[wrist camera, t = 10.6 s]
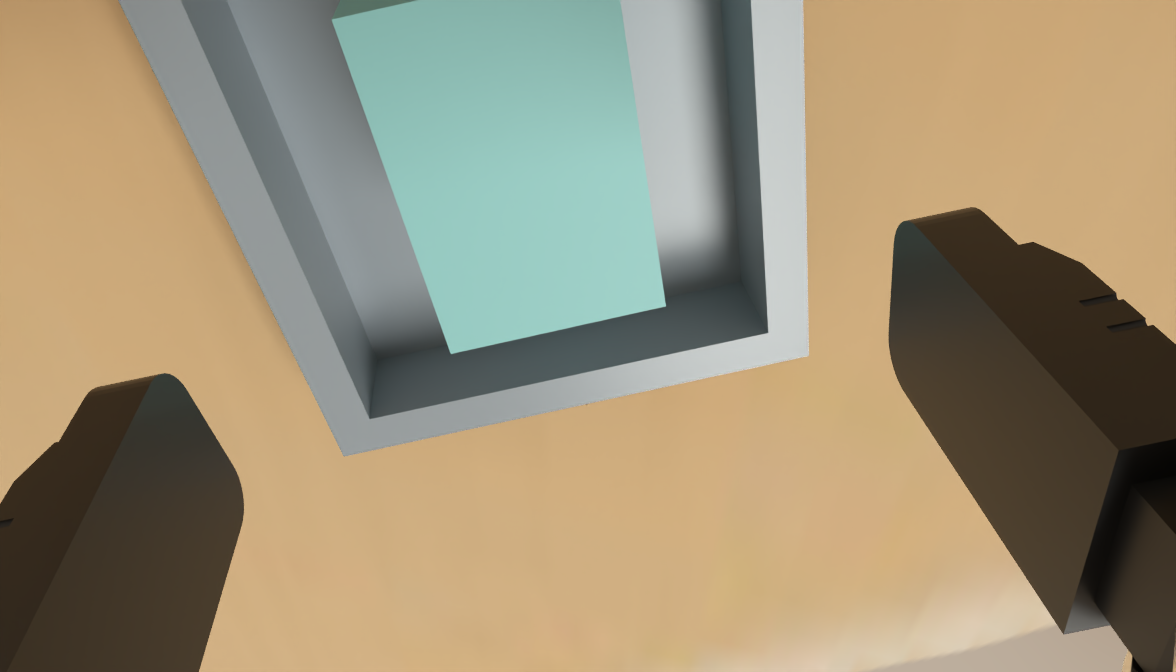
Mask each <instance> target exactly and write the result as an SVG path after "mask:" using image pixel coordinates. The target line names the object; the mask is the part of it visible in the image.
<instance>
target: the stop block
mask: <svg viewBox="0 0 1176 672" xmlns="http://www.w3.org/2000/svg"><path fill="white" fill-rule="evenodd" d="M332 22H333V25H334V28H335V31H336V34H337V36H338V39H339V42H340V45H341V48H342V50H343V53H344V56H345V59H346V62H347V64H348V67H349V70H350V73H351V76H352V78H353V81H354V84H355V87H356V90H357V92H358V95H359V98H360V101H361V104H362V106H363V109H364V112H365V115H366V118H367V120H368V123H369V126H370V129H371V132H372V135H373V137H374V140H375V143H376V146H377V149H378V151H379V154H380V157H381V160H382V163H383V165H384V168H385V171H386V174H387V177H388V179H389V182H390V185H391V188H392V191H393V193H394V196H395V199H396V202H397V205H398V207H399V210H400V213H401V216H402V219H403V221H404V224H405V227H406V230H407V233H408V235H409V238H410V241H411V244H412V247H413V249H414V252H415V255H416V258H417V261H418V263H419V266H420V269H421V272H422V275H423V278H424V280H425V283H426V286H427V289H428V292H429V294H430V297H431V300H432V303H433V306H434V308H435V311H436V314H437V317H438V320H439V322H440V325H441V328H442V331H443V334H444V336H445V339H446V342H447V345H448V348H449V350H450V353H451V354H453V353H458V352H462V351H467V350H471V349H476V348H480V347H485V346H490V345H494V344H499V343H503V342H508V341H512V340H517V339H521V338H526V337H530V336H535V335H539V334H544V333H548V332H553V331H557V330H562V329H566V328H571V327H575V326H580V325H584V324H589V323H593V322H598V321H602V320H607V319H611V318H616V317H620V316H625V315H629V314H634V313H638V312H643V311H647V310H652V309H656V308H661V307H665V306H666V303H665V296H664V289H663V283H662V276H661V269H660V263H659V256H658V249H657V243H656V236H655V229H654V223H653V216H652V209H651V203H650V196H649V189H648V183H647V176H646V169H645V163H644V156H643V149H642V143H641V136H640V129H639V123H638V116H637V109H636V103H635V96H634V89H633V83H632V76H631V69H630V63H629V56H628V49H627V43H626V36H625V29H624V23H623V16H622V9H621V3H620V0H340V2H339V4H338V6H337V9H336V11H335V13H334V15H333V17H332Z"/></svg>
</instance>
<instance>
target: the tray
mask: <svg viewBox="0 0 1176 672" xmlns="http://www.w3.org/2000/svg"><path fill="white" fill-rule="evenodd" d="M118 1H119V3H120V5H121V7H122V9H123V11H124V13H125V15H126V17H127V19H128V21H129V23H130V25H131V27H132V29H133V31H134V33H135V35H136V37H137V39H138V41H139V43H140V45H141V47H142V49H143V51H144V53H145V55H146V57H147V59H148V61H149V63H150V65H151V68H152V70H153V72H154V74H155V76H156V78H157V80H158V82H159V84H160V86H161V88H162V90H163V92H164V94H165V96H166V98H167V100H168V102H169V104H170V106H171V108H172V110H173V112H174V114H175V116H176V118H177V120H178V122H179V124H180V126H181V128H182V130H183V132H184V134H185V136H186V138H187V140H188V142H189V144H190V146H191V148H192V150H193V152H194V154H195V156H196V158H197V161H198V163H199V165H200V167H201V169H202V171H203V173H204V175H205V177H206V179H207V181H208V183H209V185H210V187H211V189H212V191H213V193H214V195H215V197H216V199H217V201H218V203H219V205H220V207H221V209H222V211H223V213H224V215H225V217H226V219H227V221H228V223H229V225H230V227H231V229H232V231H233V233H234V235H235V237H236V239H237V241H238V243H239V245H240V247H241V249H242V252H243V254H244V256H245V258H246V260H247V262H248V264H249V266H250V268H251V270H252V272H253V274H254V276H255V278H256V280H257V282H258V284H259V286H260V288H261V290H262V292H263V294H264V296H265V298H266V300H267V302H268V304H269V306H270V308H271V310H272V312H273V314H274V316H275V318H276V320H277V322H278V324H279V326H280V328H281V330H282V332H283V334H284V336H285V338H286V340H287V342H288V345H289V347H290V349H291V351H292V353H293V355H294V357H295V359H296V361H297V363H298V365H299V367H300V369H301V371H302V373H303V375H304V377H305V379H306V381H307V383H308V385H309V387H310V389H311V391H312V393H313V395H314V397H315V399H316V401H317V403H318V405H319V407H320V409H321V411H322V413H323V415H324V417H325V419H326V421H327V423H328V425H329V427H330V429H331V431H332V433H333V436H334V438H335V440H336V442H337V444H338V446H339V448H340V450H341V452H342V454H343V456H349V455H353V454H358V453H362V452H367V451H372V450H376V449H381V448H385V447H390V446H395V445H399V444H404V443H409V442H413V441H418V440H422V439H427V438H432V437H436V436H441V435H446V434H450V433H455V432H459V431H464V430H469V429H473V428H478V427H482V426H487V425H492V424H496V423H501V422H506V421H510V420H515V419H519V418H524V417H529V416H533V415H538V414H543V413H547V412H552V411H556V410H561V409H566V408H570V407H575V406H579V405H584V404H589V403H593V402H598V401H603V400H607V399H612V398H616V397H621V396H626V395H630V394H635V393H639V392H644V391H649V390H653V389H658V388H663V387H667V386H672V385H676V384H681V383H686V382H690V381H695V380H700V379H704V378H709V377H713V376H718V375H723V374H727V373H732V372H736V371H741V370H746V369H750V368H755V367H760V366H764V365H769V364H773V363H778V362H783V361H787V360H792V359H797V358H801V357H806V356H809V338H808V276H807V214H806V153H805V91H804V29H803V0H620V3H621V9H622V16H623V23H624V29H625V36H626V43H627V49H628V56H629V63H630V69H631V76H632V83H633V89H634V96H635V103H636V109H637V116H638V123H639V129H640V136H641V143H642V149H643V156H644V163H645V169H646V176H647V183H648V189H649V196H650V203H651V209H652V216H653V223H654V229H655V236H656V243H657V249H658V256H659V263H660V269H661V276H662V283H663V289H664V296H665V303H666V306H665V307H661V308H656V309H652V310H647V311H643V312H638V313H634V314H629V315H625V316H620V317H616V318H611V319H607V320H602V321H598V322H593V323H589V324H584V325H580V326H575V327H571V328H566V329H562V330H557V331H553V332H548V333H544V334H539V335H535V336H530V337H526V338H521V339H517V340H512V341H508V342H503V343H499V344H494V345H490V346H485V347H480V348H476V349H471V350H467V351H462V352H458V353H453V354H451V353H450V350H449V348H448V345H447V342H446V339H445V336H444V334H443V331H442V328H441V325H440V322H439V320H438V317H437V314H436V311H435V308H434V306H433V303H432V300H431V297H430V294H429V292H428V289H427V286H426V283H425V280H424V278H423V275H422V272H421V269H420V266H419V263H418V261H417V258H416V255H415V252H414V249H413V247H412V244H411V241H410V238H409V235H408V233H407V230H406V227H405V224H404V221H403V219H402V216H401V213H400V210H399V207H398V205H397V202H396V199H395V196H394V193H393V191H392V188H391V185H390V182H389V179H388V177H387V174H386V171H385V168H384V165H383V163H382V160H381V157H380V154H379V151H378V149H377V146H376V143H375V140H374V137H373V135H372V132H371V129H370V126H369V123H368V120H367V118H366V115H365V112H364V109H363V106H362V104H361V101H360V98H359V95H358V92H357V90H356V87H355V84H354V81H353V78H352V76H351V73H350V70H349V67H348V64H347V62H346V59H345V56H344V53H343V50H342V48H341V45H340V42H339V39H338V36H337V34H336V31H335V28H334V25H333V22H332V17H333V15H334V13H335V11H336V9H337V6H338V4H339V2H340V0H118Z"/></svg>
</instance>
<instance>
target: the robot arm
mask: <svg viewBox="0 0 1176 672" xmlns="http://www.w3.org/2000/svg"><path fill="white" fill-rule="evenodd" d="M1145 319H1146V318H1145V317H1143V316H1142V315H1141V314H1140V313H1139V312H1138V311H1137V310H1135V309H1134V308H1133V307H1132V306H1131V305H1130V304H1128V303H1127V302H1126V301H1125V300H1124V299H1122V300H1118V299H1117V296H1116V292H1115V291H1113V290H1112V289H1111V288H1110V287H1109V286H1108V285H1106V284H1105V283H1104V282H1103V281H1102V280H1101V279H1100V278H1098V277H1097V276H1096V275H1095V274H1094V273H1093V272H1091V271H1090V270H1089V269H1088V268H1087V267H1086V266H1085V265H1083V264H1082V263H1080V262H1078V261H1076V260H1073V259H1071V258H1069V257H1067V256H1064V255H1062V254H1060V253H1057V252H1055V251H1053V250H1051V249H1048V248H1046V247H1044V246H1041V245H1039V244H1037V243H1034V242H1031V243H1026V244H1021V245H1018V244H1017V243H1016V242H1015V241H1014V240H1013V239H1012V238H1011V237H1009V236H1008V235H1007V234H1006V233H1005V232H1004V231H1003V230H1002V229H1001V228H1000V227H999V226H998V225H997V224H996V223H994V222H993V221H992V220H991V219H990V218H989V217H988V216H987V215H986V214H985V213H984V212H982V211H981V210H980V209H977V208H973V207H970V208H966V209H961V210H956V211H951V212H946V213H941V214H937V215H932V216H927V217H922V218H917V219H913V220H908V221H904V222H902V223H901V224H900V225H899V226H898V228H897V231H896V234H895V238H894V250H893V268H892V285H891V302H890V319H889V348H890V355H891V360H892V364H893V367H894V371H895V374H896V376H897V379H898V381H899V383H900V385H901V387H902V389H903V391H904V392H905V394H906V395H907V397H908V398H909V400H910V401H911V403H912V404H913V406H914V408H915V409H916V411H917V412H918V414H919V415H920V417H921V418H922V420H923V421H924V423H925V424H926V426H927V427H928V429H929V430H930V432H931V433H932V435H933V436H934V438H935V439H936V441H937V443H938V444H939V446H940V447H941V449H942V450H943V452H944V453H945V455H946V456H947V458H948V459H949V461H950V462H951V464H952V465H953V467H954V468H955V470H956V471H957V473H958V474H959V476H960V478H961V479H962V481H963V482H964V484H965V485H966V487H967V488H968V490H969V491H970V493H971V494H972V496H973V497H974V499H975V500H976V502H977V503H978V505H979V506H980V508H981V509H982V511H983V513H984V514H985V516H986V517H987V519H988V520H989V522H990V523H991V525H992V526H993V528H994V529H995V531H996V532H997V534H998V535H999V537H1000V538H1001V540H1002V541H1003V543H1004V544H1005V546H1006V548H1007V549H1008V551H1009V552H1010V554H1011V555H1012V557H1013V558H1014V560H1015V561H1016V563H1017V564H1018V566H1019V567H1020V569H1021V570H1022V572H1023V573H1024V575H1025V576H1026V578H1027V580H1028V581H1029V583H1030V584H1031V586H1032V587H1033V589H1034V590H1035V592H1036V593H1037V595H1038V596H1039V598H1040V599H1041V601H1042V602H1043V604H1044V605H1045V607H1046V608H1047V610H1048V611H1049V613H1050V615H1051V616H1052V618H1053V619H1054V621H1055V622H1056V624H1057V625H1058V627H1059V628H1060V630H1061V631H1062V633H1063V634H1069V633H1074V632H1079V631H1083V630H1089V629H1093V628H1098V627H1103V626H1108V625H1111V626H1112V628H1113V629H1114V631H1115V632H1116V633H1117V635H1118V636H1119V638H1120V639H1121V640H1122V642H1123V643H1124V645H1125V646H1126V647H1127V649H1128V652H1127V655H1126V657H1125V660H1124V663H1123V668H1122V672H1176V344H1175V343H1173V342H1172V341H1171V340H1170V339H1169V338H1168V337H1167V336H1165V335H1164V334H1163V333H1162V332H1161V331H1160V330H1158V329H1157V328H1156V327H1155V326H1154V325H1151V326H1147V324H1146V321H1145ZM243 514H244V500H243V492H242V487H241V483H240V480H239V477H238V475H237V472H236V470H235V468H234V466H233V465H232V463H231V461H230V460H229V458H228V457H227V455H226V453H225V452H224V450H223V448H222V447H221V445H220V443H219V442H218V440H217V439H216V437H215V435H214V434H213V432H212V430H211V429H210V427H209V426H208V424H207V422H206V421H205V419H204V417H203V416H202V414H201V412H200V411H199V409H198V408H197V406H196V404H195V403H194V401H193V399H192V398H191V396H190V395H189V393H188V391H187V390H186V388H185V387H184V385H183V384H182V383H181V382H180V381H179V380H178V379H177V378H176V377H174V376H172V375H170V374H166V373H164V374H158V375H154V376H149V377H144V378H139V379H134V380H129V381H125V382H120V383H115V384H110V385H105V386H101V387H97V388H94V389H92V390H91V391H90V392H89V393H88V394H87V395H86V397H85V398H84V400H83V402H82V403H81V405H80V407H79V408H78V410H77V412H76V413H75V415H74V417H73V419H72V420H71V422H70V424H69V425H68V427H67V429H66V431H65V432H64V434H63V436H62V437H61V439H60V441H59V442H56V443H54V444H53V445H52V446H51V447H50V448H49V449H47V450H46V451H45V452H44V453H43V454H42V455H41V456H40V457H39V458H38V459H37V460H36V461H35V462H34V463H33V464H32V465H31V466H30V467H29V468H28V469H27V470H26V471H25V472H24V473H23V474H22V475H21V476H19V477H18V478H17V479H16V480H15V481H14V482H13V484H12V486H11V487H10V489H9V491H8V492H7V494H6V495H5V497H4V499H3V500H2V502H1V504H0V672H199V669H200V666H201V662H202V659H203V655H204V652H205V648H206V645H207V642H208V638H209V635H210V631H211V628H212V625H213V621H214V618H215V614H216V611H217V608H218V604H219V601H220V597H221V594H222V591H223V587H224V584H225V580H226V577H227V574H228V570H229V567H230V563H231V560H232V556H233V553H234V550H235V546H236V543H237V539H238V536H239V533H240V529H241V526H242V521H243Z"/></svg>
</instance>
